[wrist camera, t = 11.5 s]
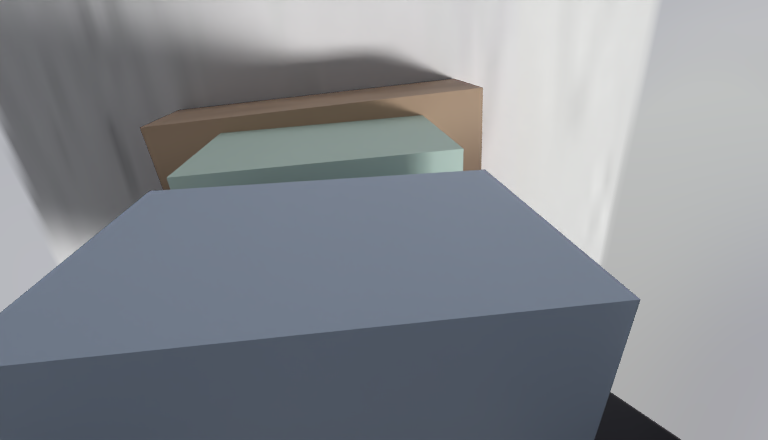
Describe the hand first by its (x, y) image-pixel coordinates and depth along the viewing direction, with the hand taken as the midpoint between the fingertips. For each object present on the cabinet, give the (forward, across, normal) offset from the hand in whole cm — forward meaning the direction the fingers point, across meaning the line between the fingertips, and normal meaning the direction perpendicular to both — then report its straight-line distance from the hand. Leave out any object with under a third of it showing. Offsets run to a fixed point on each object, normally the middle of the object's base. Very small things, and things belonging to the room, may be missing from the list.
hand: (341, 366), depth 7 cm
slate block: (+1, 0, 0) cm, 1 cm away
